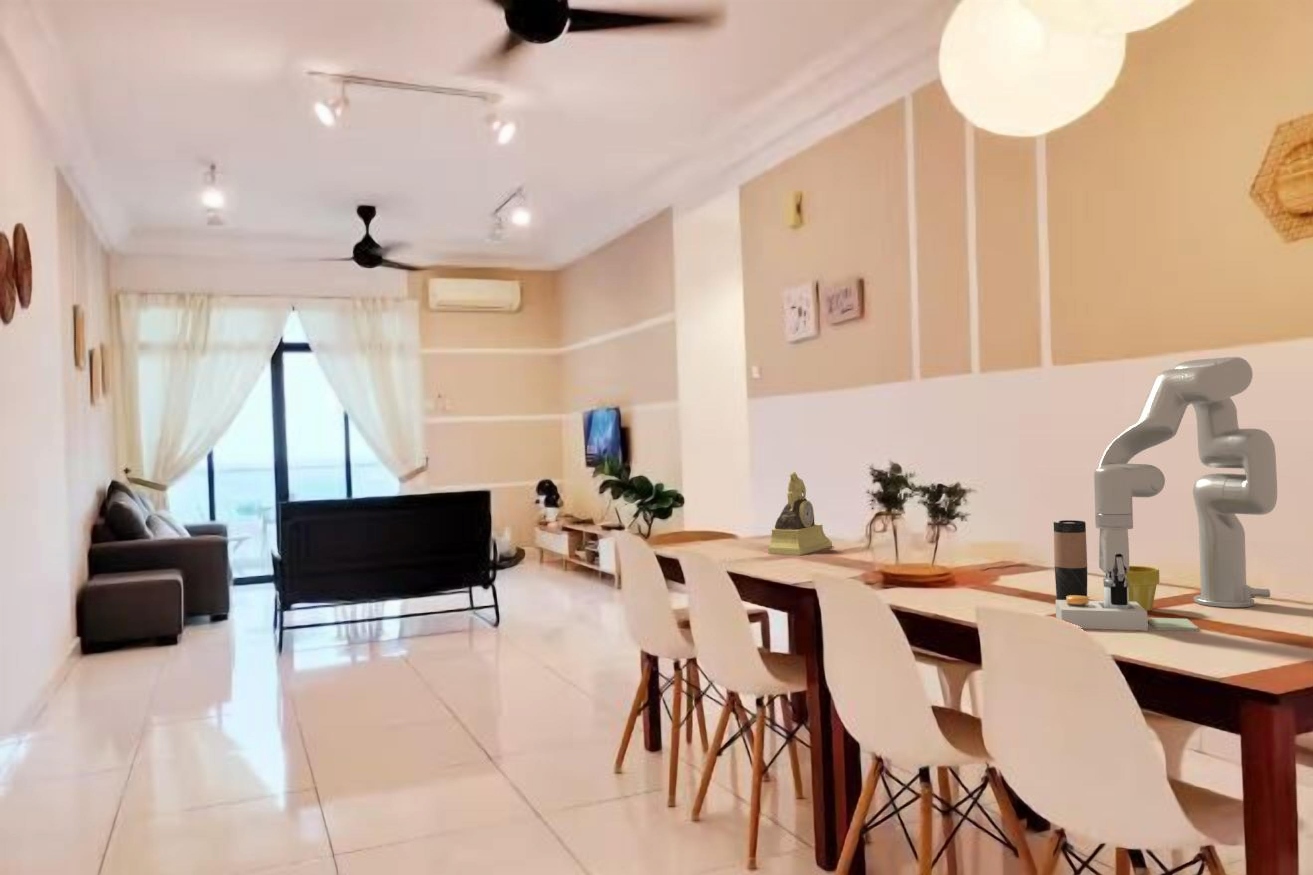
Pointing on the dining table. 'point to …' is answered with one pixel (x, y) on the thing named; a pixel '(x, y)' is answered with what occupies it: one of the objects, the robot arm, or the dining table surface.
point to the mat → (1173, 624)
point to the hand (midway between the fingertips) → (1116, 601)
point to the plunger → (1077, 600)
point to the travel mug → (1070, 558)
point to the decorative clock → (797, 524)
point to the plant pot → (1142, 585)
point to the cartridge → (1108, 595)
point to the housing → (1103, 616)
